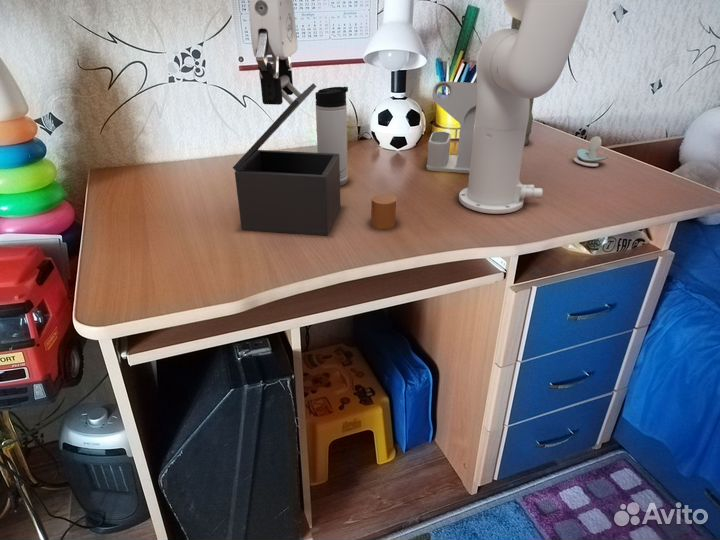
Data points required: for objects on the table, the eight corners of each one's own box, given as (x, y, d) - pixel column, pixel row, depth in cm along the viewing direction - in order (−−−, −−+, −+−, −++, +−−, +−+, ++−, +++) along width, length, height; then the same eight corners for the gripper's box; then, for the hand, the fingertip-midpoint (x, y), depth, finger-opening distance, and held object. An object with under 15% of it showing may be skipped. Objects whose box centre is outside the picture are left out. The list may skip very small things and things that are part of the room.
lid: (316, 86, 94) (294, 63, 93) (299, 102, 84) (274, 77, 83) (258, 148, 102) (237, 128, 101) (235, 171, 91) (212, 149, 90)
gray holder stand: (424, 169, 124) (428, 88, 115) (429, 156, 133) (434, 79, 123) (501, 176, 120) (512, 92, 111) (502, 161, 129) (512, 83, 120)
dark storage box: (340, 207, 105) (339, 153, 100) (327, 235, 95) (325, 176, 89) (262, 203, 108) (257, 149, 102) (241, 230, 97) (234, 172, 92)
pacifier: (591, 170, 124) (609, 165, 126) (596, 144, 121) (615, 139, 123) (566, 161, 129) (584, 156, 132) (571, 135, 126) (589, 131, 129)
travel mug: (345, 188, 114) (344, 91, 104) (315, 186, 115) (311, 89, 105) (352, 178, 119) (351, 84, 109) (323, 176, 121) (319, 83, 111)
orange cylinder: (396, 220, 101) (397, 195, 98) (394, 230, 97) (394, 204, 94) (372, 218, 101) (373, 193, 99) (369, 228, 97) (369, 203, 95)
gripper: (276, -21, 73) (286, 112, 83) (305, -26, 88) (312, 88, 97) (223, -21, 74) (239, 111, 84) (261, -25, 89) (271, 87, 98)
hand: (278, 98), depth 90 cm, fingers closed on lid, 6 cm apart
